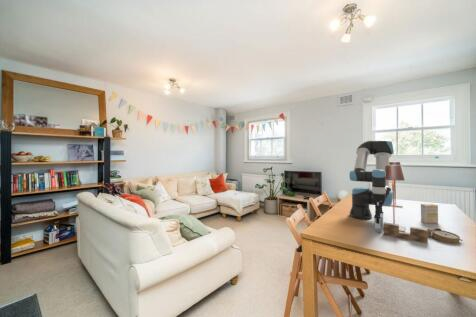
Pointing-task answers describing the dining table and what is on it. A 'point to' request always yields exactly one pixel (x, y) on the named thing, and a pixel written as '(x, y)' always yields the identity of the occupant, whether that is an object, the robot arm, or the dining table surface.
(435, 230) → the alarm clock
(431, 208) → the supplement box
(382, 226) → the slotted blue block
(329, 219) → the dining table surface
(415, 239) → the walnut rail
